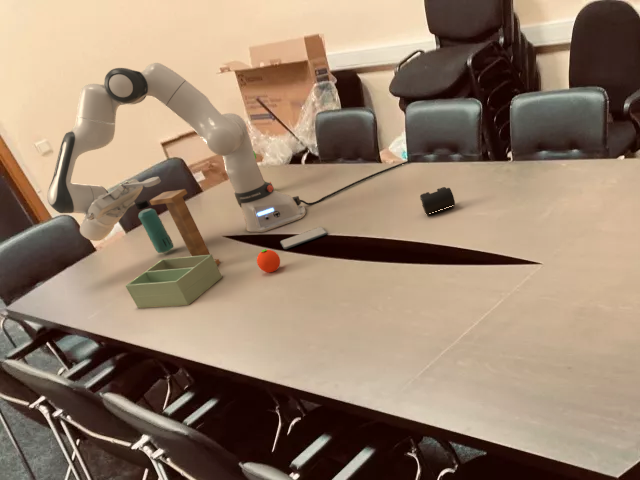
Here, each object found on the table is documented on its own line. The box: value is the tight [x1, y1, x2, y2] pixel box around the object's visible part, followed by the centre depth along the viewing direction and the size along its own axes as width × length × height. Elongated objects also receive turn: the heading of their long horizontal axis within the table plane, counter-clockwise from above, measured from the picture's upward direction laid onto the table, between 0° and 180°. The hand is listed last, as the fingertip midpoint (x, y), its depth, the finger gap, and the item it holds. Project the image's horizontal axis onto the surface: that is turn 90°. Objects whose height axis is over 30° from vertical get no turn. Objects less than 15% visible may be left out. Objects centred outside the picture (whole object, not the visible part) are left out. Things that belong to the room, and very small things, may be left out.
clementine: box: [256, 248, 281, 273], centre depth 222 cm, size 8×7×7 cm
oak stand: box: [149, 188, 221, 266], centre depth 233 cm, size 9×7×26 cm
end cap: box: [419, 186, 456, 217], centre depth 233 cm, size 10×7×7 cm
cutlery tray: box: [124, 253, 223, 309], centre depth 224 cm, size 20×18×8 cm
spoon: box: [122, 176, 162, 188], centre depth 226 cm, size 16×5×1 cm, turn 73°
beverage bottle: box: [135, 199, 175, 254], centre depth 257 cm, size 6×7×20 cm
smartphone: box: [279, 226, 328, 250], centre depth 241 cm, size 8×1×15 cm
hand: (125, 184), depth 228 cm, fingers closed on spoon, 1 cm apart
